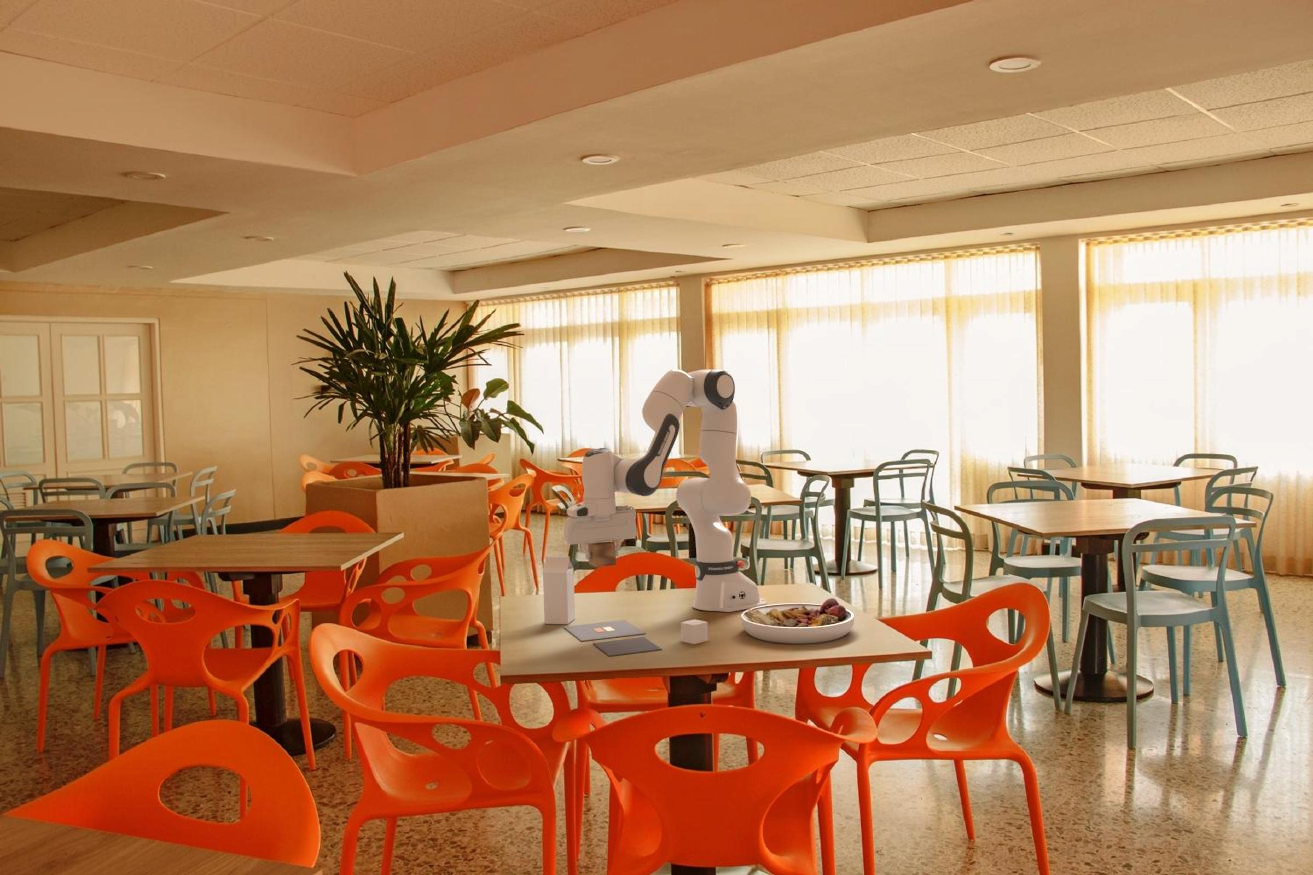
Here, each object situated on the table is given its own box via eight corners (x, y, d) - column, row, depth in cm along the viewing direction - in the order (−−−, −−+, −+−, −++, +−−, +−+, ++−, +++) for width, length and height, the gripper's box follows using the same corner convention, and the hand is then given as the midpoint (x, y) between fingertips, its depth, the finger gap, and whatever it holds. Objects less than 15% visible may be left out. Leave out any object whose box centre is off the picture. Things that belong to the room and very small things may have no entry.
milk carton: (568, 624, 285) (566, 558, 285) (544, 624, 287) (542, 558, 286) (575, 619, 292) (573, 554, 291) (551, 618, 294) (549, 554, 293)
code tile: (624, 620, 288) (624, 619, 288) (645, 634, 271) (645, 632, 271) (563, 627, 282) (563, 626, 282) (581, 641, 265) (581, 640, 265)
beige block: (695, 637, 265) (694, 619, 265) (708, 640, 262) (707, 621, 261) (681, 641, 262) (680, 622, 262) (694, 644, 258) (693, 625, 258)
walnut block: (609, 561, 280) (608, 540, 279) (616, 565, 274) (615, 543, 274) (588, 563, 277) (587, 542, 277) (595, 567, 272) (594, 545, 272)
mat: (643, 637, 267) (643, 636, 267) (662, 649, 253) (661, 648, 253) (593, 644, 262) (593, 642, 262) (609, 656, 249) (609, 655, 249)
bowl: (790, 653, 247) (789, 621, 247) (719, 631, 273) (718, 602, 272) (878, 634, 263) (877, 605, 263) (803, 615, 288) (802, 588, 288)
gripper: (631, 503, 281) (633, 552, 282) (561, 509, 274) (563, 559, 275) (639, 505, 276) (641, 555, 276) (567, 511, 268) (569, 562, 269)
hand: (601, 557), depth 276 cm, fingers closed on walnut block, 6 cm apart
